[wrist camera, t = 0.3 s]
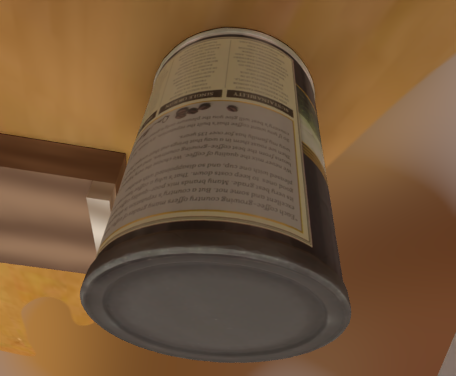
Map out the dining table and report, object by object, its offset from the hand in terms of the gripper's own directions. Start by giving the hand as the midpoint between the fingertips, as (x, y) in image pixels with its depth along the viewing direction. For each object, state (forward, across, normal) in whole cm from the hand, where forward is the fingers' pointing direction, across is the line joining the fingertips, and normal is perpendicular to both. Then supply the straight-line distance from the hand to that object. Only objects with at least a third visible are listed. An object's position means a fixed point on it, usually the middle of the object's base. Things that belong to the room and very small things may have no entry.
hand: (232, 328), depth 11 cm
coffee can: (+16, 0, +5) cm, 16 cm away
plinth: (+22, -14, -6) cm, 27 cm away
